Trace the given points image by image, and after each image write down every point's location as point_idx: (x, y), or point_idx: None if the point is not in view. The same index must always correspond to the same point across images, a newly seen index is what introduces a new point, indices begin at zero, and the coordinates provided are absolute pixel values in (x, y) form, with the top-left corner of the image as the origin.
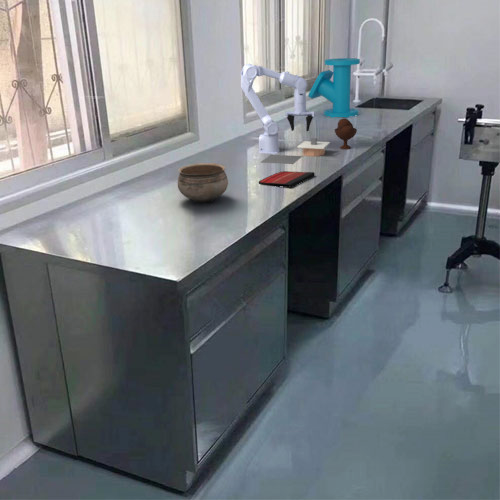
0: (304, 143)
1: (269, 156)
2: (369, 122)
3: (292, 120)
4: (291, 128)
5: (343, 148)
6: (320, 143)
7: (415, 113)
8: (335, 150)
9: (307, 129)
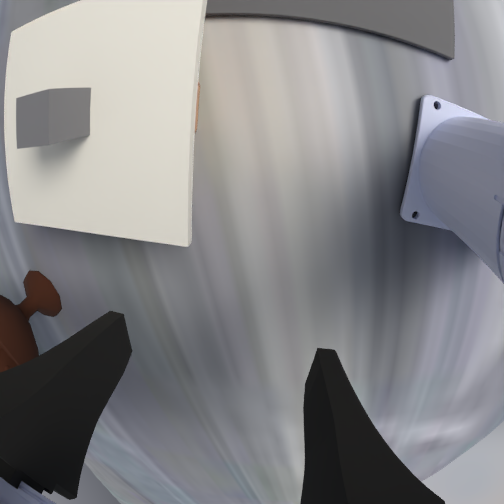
0: (156, 129)
1: (446, 5)
2: (153, 494)
3: (325, 490)
4: (340, 369)
5: (36, 274)
6: (40, 159)
7: (115, 495)
8: (53, 246)
9: (97, 319)
